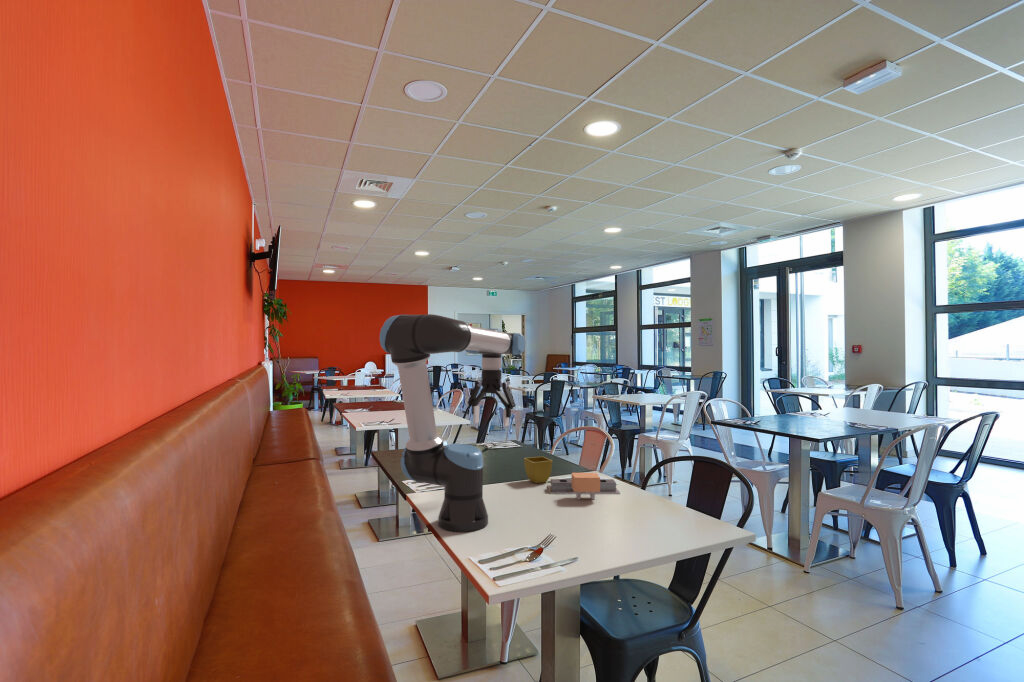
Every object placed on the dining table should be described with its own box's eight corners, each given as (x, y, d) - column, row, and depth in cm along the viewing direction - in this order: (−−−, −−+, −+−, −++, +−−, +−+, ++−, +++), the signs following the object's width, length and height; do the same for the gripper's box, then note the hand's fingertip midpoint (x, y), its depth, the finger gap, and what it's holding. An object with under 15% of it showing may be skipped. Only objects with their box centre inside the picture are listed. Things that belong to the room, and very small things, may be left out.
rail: (620, 493, 191) (620, 484, 191) (550, 493, 190) (550, 484, 190) (613, 486, 201) (614, 477, 201) (547, 486, 200) (547, 477, 200)
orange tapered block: (596, 495, 188) (596, 472, 189) (600, 501, 181) (600, 477, 182) (571, 495, 188) (571, 472, 188) (574, 501, 181) (574, 477, 181)
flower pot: (523, 480, 209) (523, 457, 209) (542, 477, 213) (542, 456, 213) (533, 485, 201) (533, 462, 201) (552, 483, 205) (553, 460, 205)
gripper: (524, 369, 195) (524, 426, 195) (470, 367, 208) (470, 420, 208) (514, 370, 189) (513, 428, 189) (459, 368, 202) (458, 422, 202)
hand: (490, 424), depth 198 cm, fingers open, 13 cm apart
